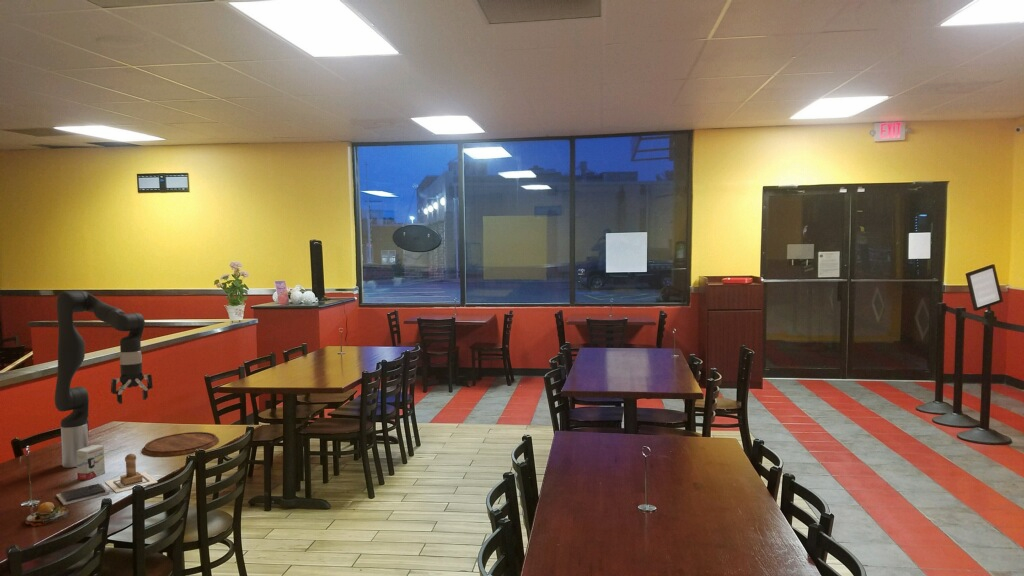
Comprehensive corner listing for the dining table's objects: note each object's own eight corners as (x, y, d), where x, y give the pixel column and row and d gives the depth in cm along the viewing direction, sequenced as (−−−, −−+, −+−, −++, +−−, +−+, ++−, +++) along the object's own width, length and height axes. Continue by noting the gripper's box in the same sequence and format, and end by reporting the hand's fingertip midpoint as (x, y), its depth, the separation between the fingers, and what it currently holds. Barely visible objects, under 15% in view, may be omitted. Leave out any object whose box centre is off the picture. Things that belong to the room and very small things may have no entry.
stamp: (120, 481, 235) (119, 454, 234) (137, 477, 239) (136, 450, 239) (124, 485, 231) (123, 457, 230) (142, 481, 235) (141, 453, 234)
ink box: (86, 480, 237) (85, 451, 237) (76, 479, 238) (75, 450, 238) (105, 472, 246) (104, 444, 245) (95, 472, 247) (94, 444, 246)
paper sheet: (105, 482, 235) (105, 481, 235) (145, 472, 245) (145, 471, 245) (116, 493, 224) (116, 491, 224) (157, 482, 235) (157, 481, 235)
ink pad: (56, 496, 221) (56, 492, 221) (101, 485, 232) (100, 482, 232) (63, 505, 213) (63, 501, 213) (109, 493, 224) (109, 490, 223)
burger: (77, 511, 209) (76, 490, 209) (53, 526, 197) (52, 504, 197) (42, 511, 209) (41, 491, 208) (15, 527, 197) (14, 505, 196)
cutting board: (165, 462, 259) (165, 456, 259) (128, 450, 276) (127, 444, 276) (233, 442, 287) (233, 437, 286) (195, 432, 303) (195, 427, 303)
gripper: (147, 359, 250) (149, 397, 251) (108, 363, 240) (109, 403, 240) (153, 361, 245) (155, 399, 246) (113, 365, 234) (114, 406, 235)
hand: (132, 401), depth 243 cm, fingers open, 8 cm apart
